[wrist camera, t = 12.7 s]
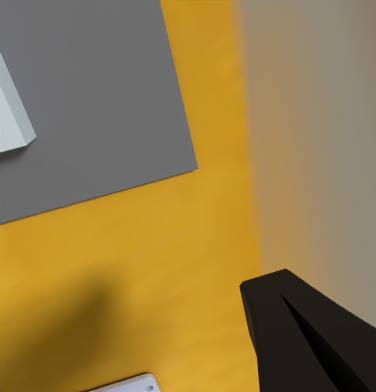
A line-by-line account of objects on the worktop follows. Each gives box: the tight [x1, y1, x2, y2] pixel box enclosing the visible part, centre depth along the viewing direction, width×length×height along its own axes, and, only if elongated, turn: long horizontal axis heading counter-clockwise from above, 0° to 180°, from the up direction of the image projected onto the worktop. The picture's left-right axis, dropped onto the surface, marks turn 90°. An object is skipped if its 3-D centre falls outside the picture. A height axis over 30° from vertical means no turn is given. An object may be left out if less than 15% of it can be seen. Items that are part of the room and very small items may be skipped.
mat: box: [0, 0, 198, 224], centre depth 14 cm, size 14×12×1 cm
